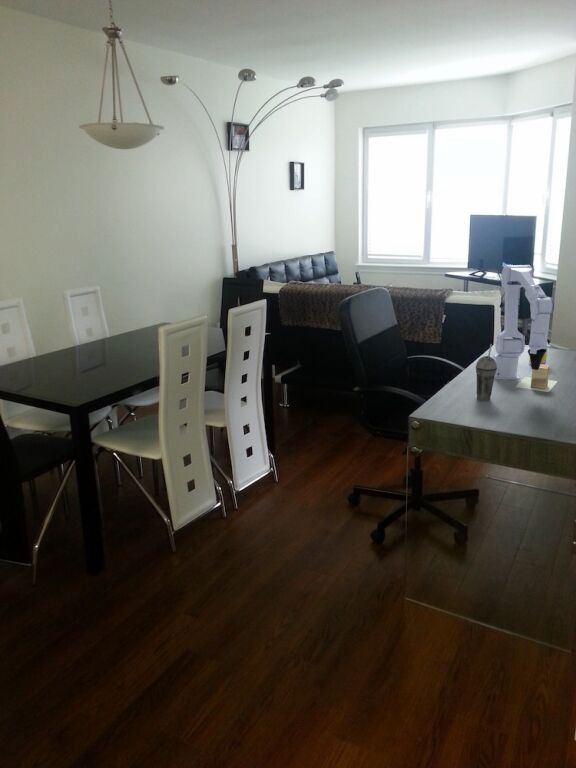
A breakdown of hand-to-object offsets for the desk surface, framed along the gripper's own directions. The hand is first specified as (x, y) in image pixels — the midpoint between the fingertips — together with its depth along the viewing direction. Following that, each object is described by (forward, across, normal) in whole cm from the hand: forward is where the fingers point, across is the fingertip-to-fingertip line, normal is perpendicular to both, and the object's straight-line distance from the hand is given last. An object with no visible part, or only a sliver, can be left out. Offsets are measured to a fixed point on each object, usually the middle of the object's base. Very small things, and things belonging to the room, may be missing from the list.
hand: (535, 369), depth 219 cm
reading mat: (+10, +14, +2) cm, 17 cm away
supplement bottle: (+10, +45, +8) cm, 46 cm away
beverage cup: (+10, -13, +14) cm, 21 cm away
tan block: (+10, +11, 0) cm, 15 cm away
